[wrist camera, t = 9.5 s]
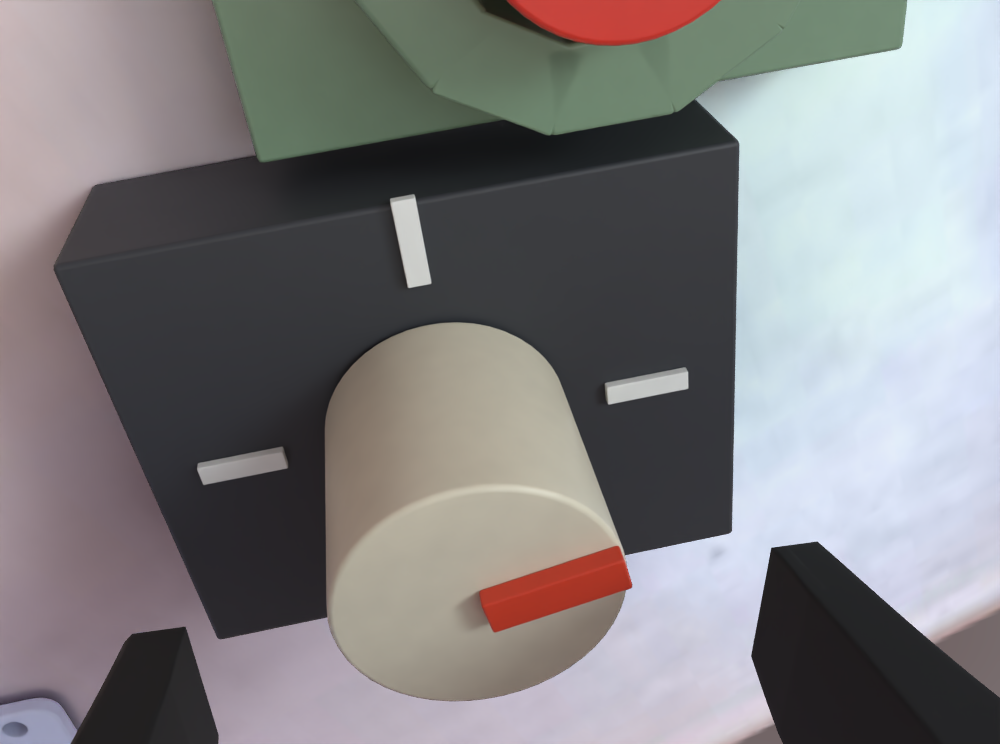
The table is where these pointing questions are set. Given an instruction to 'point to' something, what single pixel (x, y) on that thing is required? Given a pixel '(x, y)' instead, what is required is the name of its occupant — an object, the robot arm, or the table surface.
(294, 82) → the button housing
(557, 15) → the button
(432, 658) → the knob
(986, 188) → the table surface
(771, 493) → the table surface
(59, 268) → the control panel
